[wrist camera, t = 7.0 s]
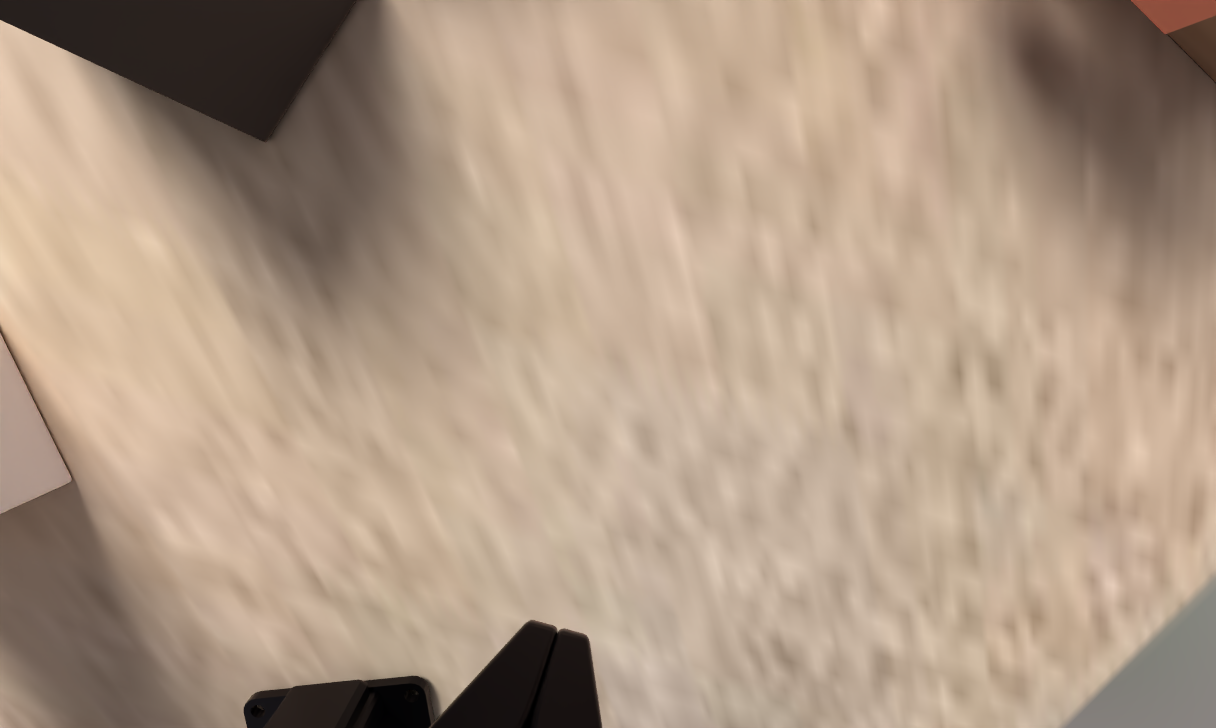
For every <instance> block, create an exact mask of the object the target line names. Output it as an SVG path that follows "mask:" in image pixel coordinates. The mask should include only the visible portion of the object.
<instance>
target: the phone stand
mask: <svg viewBox="0 0 1216 728" xmlns="http://www.w3.org/2000/svg"><path fill="white" fill-rule="evenodd" d="M355 2H356V0H0V20H2V21H4V22H6V23H8V24H10V25H13V26H15V27H17V28H19V29H21V30H23V31H26V32H28V33H30V34H32V35H34V36H36V37H39V38H41V39H43V40H45V41H47V42H49V43H52V44H54V45H56V46H58V47H60V48H62V49H65V50H67V51H69V52H71V53H73V54H75V55H78V56H80V57H82V58H84V59H86V60H88V61H91V62H93V63H95V64H97V65H99V66H101V67H103V68H106V69H108V70H110V71H112V72H114V73H116V74H119V75H121V76H123V77H125V78H127V79H129V80H132V81H134V82H136V83H138V84H140V85H142V86H145V87H147V88H149V89H151V90H153V91H155V92H158V93H160V94H162V95H164V96H166V97H168V98H171V99H173V100H175V101H177V102H179V103H181V104H184V105H186V106H188V107H190V108H192V109H194V110H197V111H199V112H201V113H203V114H205V115H207V116H209V117H212V118H214V119H216V120H218V121H220V122H222V123H225V124H227V125H229V126H231V127H233V128H235V129H238V130H240V131H242V132H244V133H246V134H248V135H251V136H253V137H255V138H257V139H259V140H261V141H264V142H267V140H268V138H269V137H270V135H271V134H272V132H273V131H274V129H275V127H276V126H277V124H278V123H279V121H280V120H281V118H282V116H283V115H284V113H285V112H286V110H287V109H288V107H289V105H290V104H291V102H292V101H293V99H294V98H295V96H296V94H297V93H298V91H299V90H300V88H301V87H302V85H303V83H304V82H305V80H306V79H307V77H308V76H309V74H310V72H311V71H312V69H313V68H314V66H315V65H316V63H317V61H318V60H319V58H320V57H321V55H322V53H323V52H324V50H325V49H326V47H327V46H328V44H329V42H330V41H331V39H332V38H333V36H334V35H335V33H336V31H337V30H338V28H339V27H340V25H341V24H342V22H343V20H344V19H345V17H346V16H347V14H348V13H349V11H350V9H351V8H352V6H353V5H354V3H355Z"/></svg>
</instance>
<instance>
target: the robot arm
mask: <svg viewBox="0 0 1216 728" xmlns="http://www.w3.org/2000/svg"><path fill="white" fill-rule="evenodd" d="M557 632H558V634H557ZM410 689H411V690H415V691H417V692H418V694H417V695H414V694H411V693H410V692H409V691H408V690H410ZM257 705H260V706H262V707H263V708H264V710H261V709H260V708H258V706H257ZM244 716H245V720H246V724H247V728H602V722H601V715H600V709H599V702H598V695H597V688H596V681H595V675H594V668H593V661H592V654H591V648H590V641H589V639H588V637H587V636H586V635H585V634H582V633H579V632H575V631H572V630H568V629H561V630H559V631H557V628H556V627H555V626H553V625H550V624H546V623H542V622H539V621H535V620H530V621H528V622H527V623H526V624H524V625H523V627H522V628H521V629H520V630H519V631H518V632H517V633H516V634H515V635H514V636H513V637H512V638H511V640H510V641H509V642H508V643H507V644H506V645H505V646H504V647H503V648H502V649H501V650H500V651H499V653H498V654H497V655H496V656H495V657H494V658H493V659H492V660H491V661H490V662H489V663H488V664H487V666H486V667H485V668H484V669H483V670H482V671H481V672H480V673H479V674H478V675H477V676H476V678H475V679H474V680H473V681H472V682H471V683H470V684H469V685H468V686H467V687H466V688H465V689H464V691H463V692H462V693H461V694H460V695H459V696H458V697H457V698H456V699H455V700H454V701H453V702H452V704H451V705H450V706H449V707H448V708H447V709H446V710H445V711H444V712H443V713H442V714H441V715H440V717H439V718H438V719H437V720H436V721H435V720H434V714H433V708H432V703H431V697H430V691H429V686H428V684H427V682H426V681H425V680H424V679H423V678H421V677H418V676H407V677H397V678H387V679H377V680H368V681H362V680H352V681H342V682H332V683H322V684H312V685H302V686H295V687H293V688H288V689H279V690H269V691H260V692H257V693H255V694H254V695H252V696H251V698H250V699H249V700H248V701H247V703H246V704H245V706H244Z"/></svg>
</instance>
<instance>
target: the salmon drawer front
mask: <svg viewBox="0 0 1216 728" xmlns="http://www.w3.org/2000/svg"><path fill="white" fill-rule="evenodd" d="M1131 1H1132V2H1133V3H1134V4H1135V5H1136V6H1137V7H1138V8H1139V9H1140V10H1141V11H1142V12H1143V13H1144V14H1145V15H1146V16H1147V17H1148V18H1149V19H1150V20H1151V21H1152V22H1153V23H1154V24H1155V25H1156V26H1157V27H1158V28H1159V29H1160V30H1161V31H1162V32H1163V33H1164V34H1167V33H1170V32H1173V31H1175V30H1178V29H1181V28H1183V27H1186V26H1189V25H1192V24H1194V23H1197V22H1200V21H1202V20H1205V19H1208V18H1211V17H1213V16H1216V0H1131Z"/></svg>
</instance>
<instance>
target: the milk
mask: <svg viewBox="0 0 1216 728" xmlns="http://www.w3.org/2000/svg"><path fill="white" fill-rule="evenodd" d="M71 480H72V479H71V476H70V474H69V472H68V470H67V468H66V466H65V464H64V462H63V460H62V458H61V456H60V454H59V452H58V450H57V448H56V446H55V443H54V441H53V439H52V437H51V435H50V433H49V431H48V429H47V427H46V425H45V423H44V421H43V419H42V417H41V415H40V413H39V411H38V409H37V407H36V405H35V403H34V401H33V399H32V397H31V395H30V393H29V391H28V389H27V386H26V384H25V382H24V380H23V378H22V376H21V374H20V372H19V370H18V368H17V366H16V364H15V362H14V360H13V358H12V356H11V354H10V352H9V350H8V348H7V346H6V344H5V342H4V340H3V338H2V336H1V334H0V514H1V513H4V512H6V511H8V510H10V509H13V508H15V507H17V506H19V505H21V504H24V503H26V502H28V501H30V500H33V499H35V498H37V497H39V496H41V495H44V494H46V493H48V492H50V491H52V490H55V489H57V488H59V487H61V486H63V485H66V484H68V483H69V482H71Z"/></svg>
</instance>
